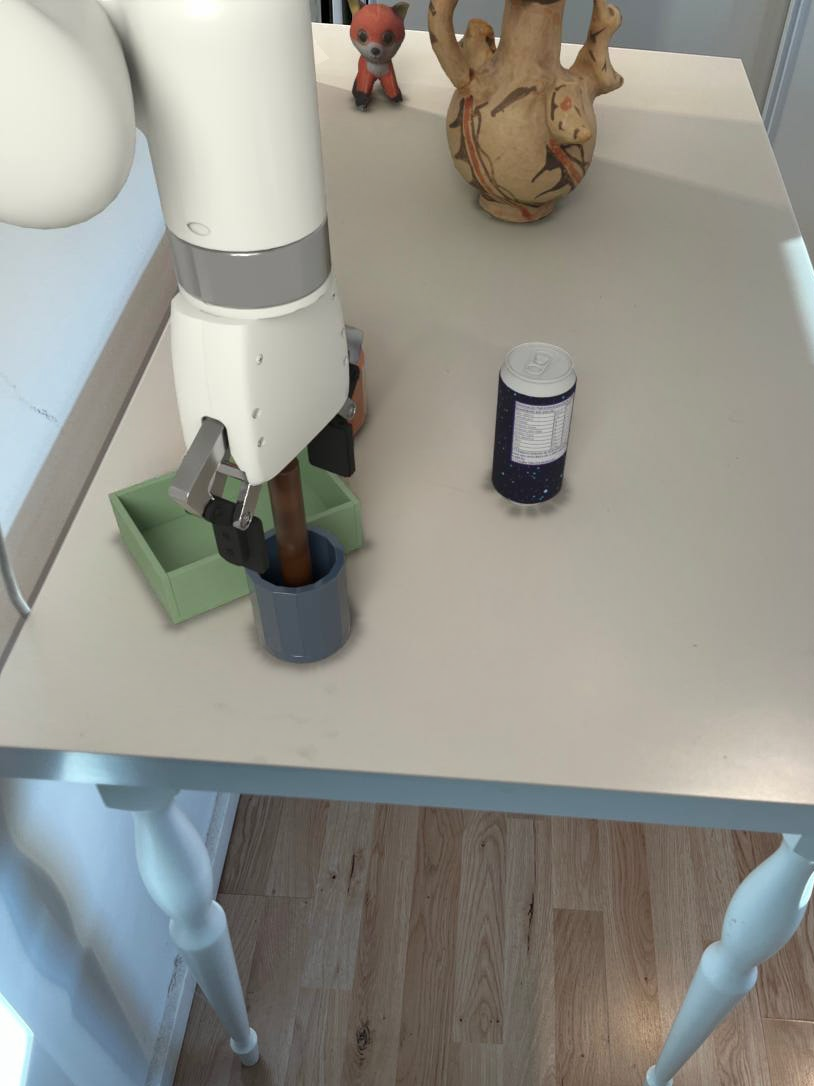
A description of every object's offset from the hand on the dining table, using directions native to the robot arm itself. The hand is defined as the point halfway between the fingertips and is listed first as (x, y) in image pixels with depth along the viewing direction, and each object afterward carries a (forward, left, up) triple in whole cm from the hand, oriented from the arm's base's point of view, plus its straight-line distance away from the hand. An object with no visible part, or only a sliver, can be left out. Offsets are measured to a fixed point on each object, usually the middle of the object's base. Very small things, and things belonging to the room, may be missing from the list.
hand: (290, 513), depth 60 cm
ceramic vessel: (+50, +43, -11) cm, 67 cm away
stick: (0, 0, -10) cm, 10 cm away
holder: (0, 0, -11) cm, 11 cm away
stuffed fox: (+51, +77, -11) cm, 93 cm away
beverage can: (+22, +4, -11) cm, 25 cm away
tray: (0, +10, -11) cm, 15 cm away
